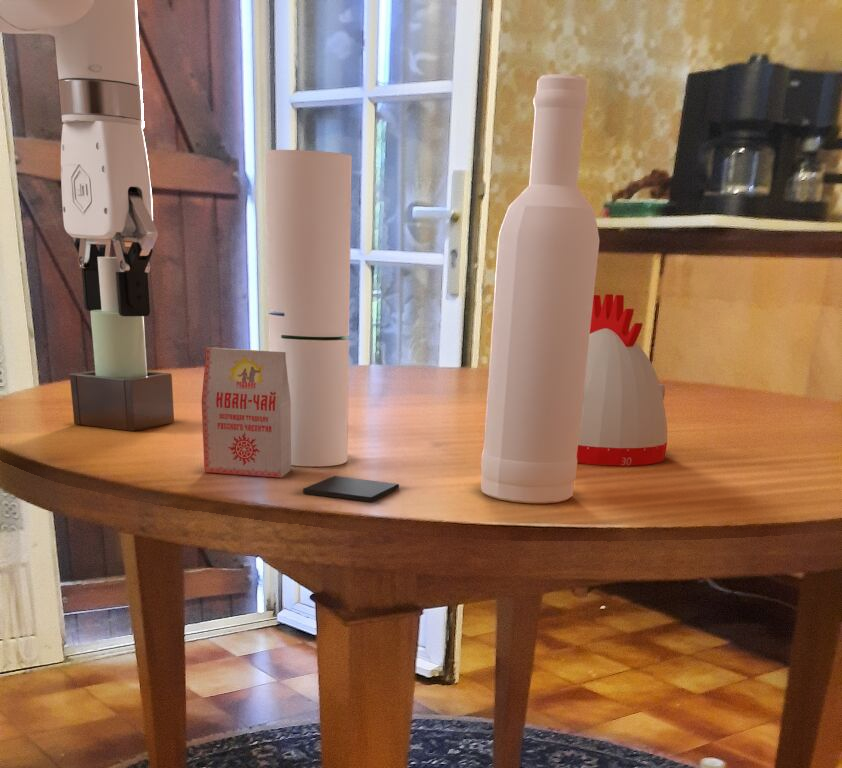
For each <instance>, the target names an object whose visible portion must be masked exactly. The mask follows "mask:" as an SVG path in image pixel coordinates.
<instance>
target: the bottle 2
mask: <svg viewBox="0 0 842 768" xmlns="http://www.w3.org/2000/svg"><path fill="white" fill-rule="evenodd" d="M587 88H588V81H587V80H586V78H585V77H583V76H580V75H574V74H566V73H565V74H563V73H562V74H561V73H559V74H558V73H554V74H553V73H552V74H550V73H549V74H544V75H541V76H540V77H539V78H538V79H537V81H536V92H535V94H534V95H533V96H534V97H533V103H532V104H533V107H534V116H533V117H534V118H533V132H532V141H531V142H532V145H531V155H530V156H531V157H530V169H529V170H530V171H529V182H528V186H527V187H526V188H524V189H523V191H522V192H521V193H520V194H519V195H518V196H517V197H516V198H515V199H514V200H513V201H512V202H511V203H510V204H509V205H508V208H507V210H506V212H505V216H504V218H503V221H502V224H501V226H500V230H499V232H498V235H497V248H496V249H497V250H496V264H495V276H494V278H495V279H494V294H493V306H492V307H493V308H492V309H493V310H492V323H491V336H490V338H491V339H490V351H489V352H490V353H489V367H488V382H487V393H486V395H487V396H486V409H485V410H486V411H485V424H484V426H485V427H484V440H483V450H482V453H481V464H480V466H481V467H480V473H481V482H480V483H481V484H480V491H481V492H482V493H483V494H484V495H485V496H487V497H489V498H492V499H496V500H500V501H505V502H512V503H521V504H555V503H561V502H565V501H567V500H569V499H570V498H571V497H573V496H574V485H575V481H576V477H577V471H578V469H577V468H578V463H577V449H578V439H579V430H580V421H581V411H582V402H583V392H584V383H585V373H586V364H587V354H588V345H589V335H590V326H591V316H592V307H593V297H594V295H595V289H596V288H595V287H596V278H597V269H598V259H599V250H600V241H601V240H600V235H599V229H598V223H597V218H596V214H595V210H594V208H593V206H591V205H592V204H590V203H589V201H588V199H586V196H584V195H583V193H582V191H581V190H580V189H579V188H578V180H579V170H580V161H581V148H582V141H583V140H582V139H583V130H584V129H583V128H584V117H585V110H586V108H587V106H588V96H587Z"/></svg>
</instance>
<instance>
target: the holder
mask: <svg viewBox="0 0 842 768" xmlns="http://www.w3.org/2000/svg"><path fill="white" fill-rule="evenodd" d="M69 381H70V394H71V402H72V404H71V405H72V413H73V414H72V415H73V424H74V425H76V426H86V427H94V428H102V429H109V430H110V429H111V430H119V431H120V430H121V431H128V432H139V431H144V430H147V429H151V428H155V427H160V426H164V425H169V424H173V423H175V413H174V410H175V409H174V392H173V376H172V373H170V372H159V371H148V370H147V376H143V377H137V378H131V379H126V378H116V377H106V376H96V373H95V369H94V370H89V371H88V370H87V371H80V372H74V373H69Z"/></svg>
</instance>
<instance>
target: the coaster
mask: <svg viewBox="0 0 842 768" xmlns="http://www.w3.org/2000/svg"><path fill="white" fill-rule="evenodd" d="M399 489H400V484H399V483H396V482H386V481H379V480H370V479H363V478H353V477H347V476H338V475H333V476H331V477H328V478H326V479H324V480H321V481H318V482H315V483H314V484H311V485H308V486H306V487H304V488H302V493H303V494H304V495H313V496H320V497H328V498H329V497H330V498H334V499H335V498H336V499H343V500H352V501H359V502H366V503H373V502H374V501H376V500H379V499H380V498H383V497H384V496H386V495H389V494H391V493H393V492H394V491H397V490H399Z"/></svg>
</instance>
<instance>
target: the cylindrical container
mask: <svg viewBox="0 0 842 768" xmlns="http://www.w3.org/2000/svg"><path fill="white" fill-rule="evenodd" d="M352 157H353V156H352V154H346V153H340V152H331V151H323V150H321V151H320V150H307V149H306V150H304V149H268V150H265V192H266V193H265V194H266V197H265V199H266V202H265V203H266V249H267V250H266V253H267V254H266V255H267V256H266V257H267V258H266V259H267V260H266V262H267V263H266V264H267V311H269V312H268V351H276V352H285V353H286V366H287V375H288V383H289V391H290V399H291V466H296V467H312V468H313V467H331V466H332V467H333V466H338V465H343V464H345V463H347V462H348V455H349V454H348V451H349V450H348V448H349V446H348V445H349V386H350V385H349V382H350V377H349V376H350V375H349V374H350V337H349V336H350V313H351V312H350V311H351V310H350V307H351V306H350V305H351V302H350V301H351V300H350V299H351V240H352V239H351V232H352V231H351V229H352V227H351V226H352V167H353V166H352V164H353V163H352V162H353V161H352Z"/></svg>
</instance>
